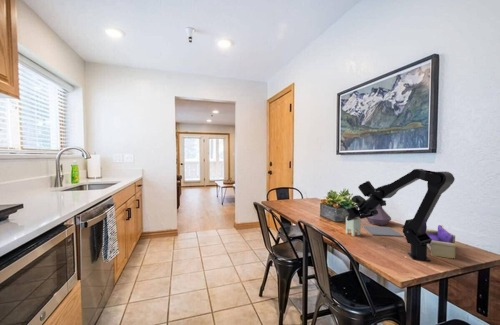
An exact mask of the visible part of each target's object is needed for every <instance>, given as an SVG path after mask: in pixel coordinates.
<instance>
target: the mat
mask: <svg viewBox="0 0 500 325" xmlns="http://www.w3.org/2000/svg"><path fill="white" fill-rule="evenodd" d="M362 228H363V229H364V228H365V229H364V230H365V231H367V232H368V233H369V234H370V235H372V236H375V237H377V236H378V237H379V236H380V237H397V238H398V237H399V238H400V237H401V238H405V235H404V234H402V233H400V232H399V231H397V230H395V229H393V228H392V227H390V226H376V225H374V226H372V225H371V226H370V225H362Z"/></svg>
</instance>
